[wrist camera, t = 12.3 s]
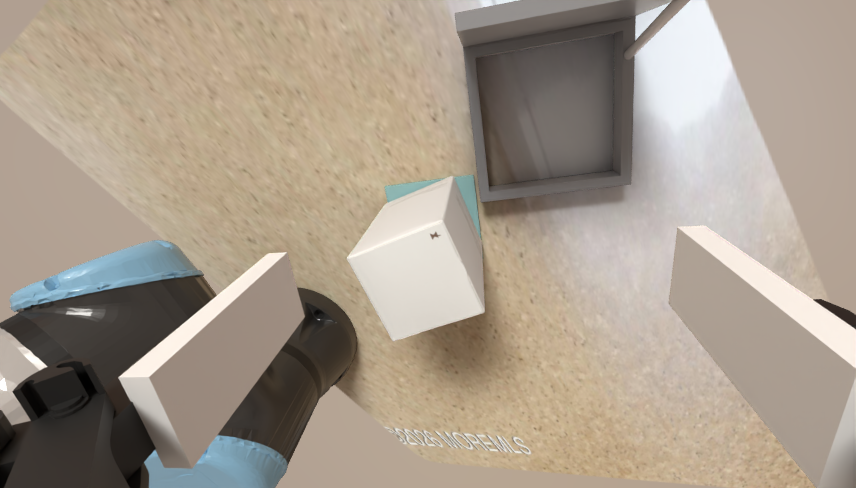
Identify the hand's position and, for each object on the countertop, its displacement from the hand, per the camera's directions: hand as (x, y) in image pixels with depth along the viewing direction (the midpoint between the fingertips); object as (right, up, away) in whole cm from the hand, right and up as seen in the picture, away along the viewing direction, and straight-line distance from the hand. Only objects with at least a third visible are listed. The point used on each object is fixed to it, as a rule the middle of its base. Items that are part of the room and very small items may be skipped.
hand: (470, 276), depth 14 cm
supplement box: (-1, +3, +33) cm, 33 cm away
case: (+11, +14, +27) cm, 32 cm away
